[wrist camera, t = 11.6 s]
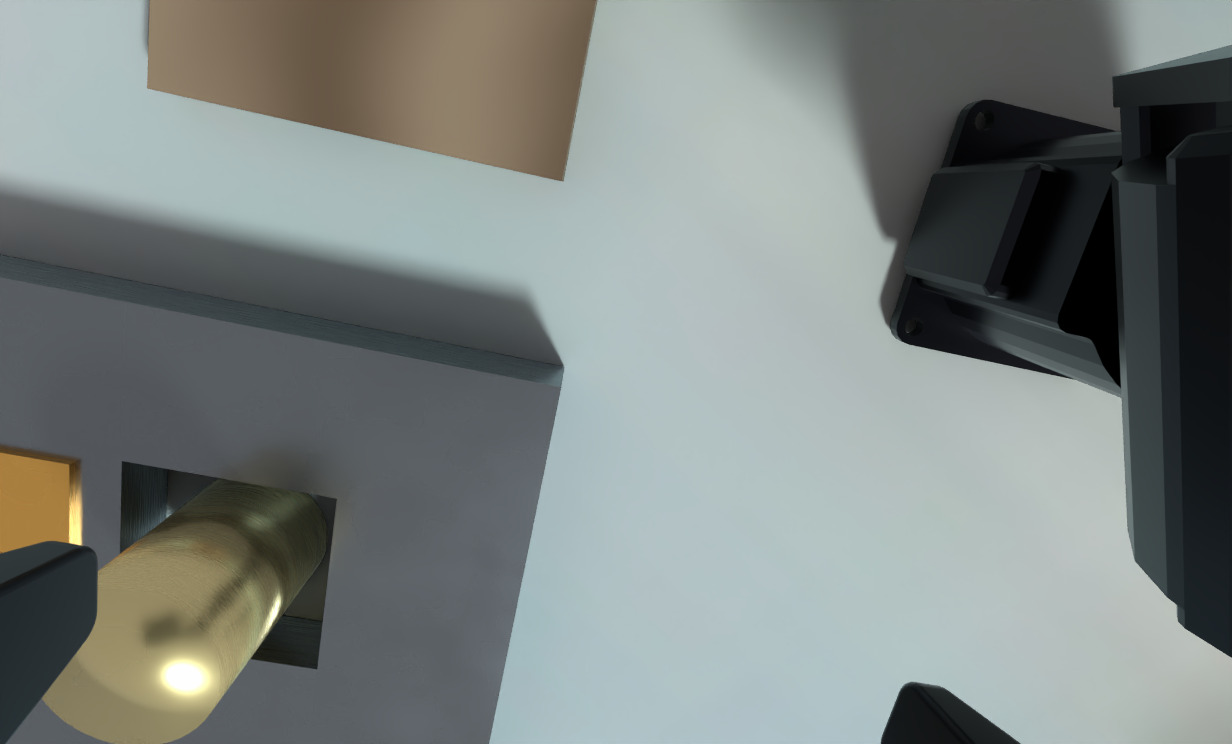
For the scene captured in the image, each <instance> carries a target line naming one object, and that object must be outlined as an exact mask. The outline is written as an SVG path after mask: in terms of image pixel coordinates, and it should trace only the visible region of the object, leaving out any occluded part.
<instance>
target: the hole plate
mask: <svg viewBox="0 0 1232 744" xmlns="http://www.w3.org/2000/svg"><path fill="white" fill-rule="evenodd" d="M563 372H564V367H562V366H557V365H552V364H547V363H542V362H537V361H532V360H527V359H522V358H517V357H512V356H507V355H502V354H497V353H492V352H487V351H482V350H477V349H472V348H467V347H462V346H457V345H452V344H447V343H442V342H436V341H431V340H426V339H421V338H416V337H411V336H406V335H401V334H396V333H391V332H386V331H381V330H376V329H371V328H366V327H361V326H356V325H351V324H346V323H341V322H336V321H331V320H326V319H321V318H316V317H311V316H306V315H301V314H296V313H291V312H286V311H281V310H276V309H271V308H266V307H261V306H256V305H250V304H245V303H240V302H235V301H230V300H225V299H220V298H215V297H210V296H205V295H200V294H195V293H190V292H185V291H180V290H175V289H170V288H165V287H160V286H155V285H150V284H145V283H140V282H135V281H130V280H125V279H120V278H115V277H110V276H105V275H100V274H95V273H90V272H85V271H80V270H75V269H70V268H65V267H59V266H54V265H49V264H44V263H39V262H34V261H29V260H24V259H19V258H14V257H9V256H4V255H0V553H4V552H8V551H11V550H15V549H19V548H22V547H26V546H30V545H33V544H37V543H41V542H45V541H59V542H65V543H71V544H77V545H83V546H88V547H90V548H91V549H93V550H94V551H95V553H96V555H97V559H98V571H99V570H100V569H101V568H103V567H104V566H105V565H106V564H108V563H109V562H110V561H112V560H113V559H114V558H116V557H117V556H118V555H119V554H121V553H122V552H123V551H125V550H126V549H127V548H129V547H130V546H131V545H132V544H134V543H135V542H136V541H138V540H139V539H140V538H142V537H143V536H144V535H145V534H147V533H148V532H149V531H151V530H152V529H153V528H155V527H156V526H157V525H158V524H160V523H161V522H162V521H164V520H165V519H166V507H167V483H168V469H171V470H176V471H182V472H188V473H193V474H199V475H205V476H210V477H216V478H222V479H228V480H233V481H239V482H245V483H250V484H256V485H262V486H267V487H273V488H279V489H284V490H290V491H296V492H302V493H307V494H313V495H319V496H324V497H330V498H336V499H337V502H336V511H335V520H334V528H333V537H332V546H331V554H330V563H329V572H328V581H327V589H326V598H325V607H324V615H323V622H320V621H314V620H307V619H301V618H295V617H288V616H281V618H280V619H279V620H278V622H277V623H276V624H275V626H274V627H273V628H272V630H271V631H270V633H269V634H268V635H267V637H266V638H265V639H264V641H263V642H262V644H261V645H260V646H259V648H258V649H257V650H256V652H255V653H254V654H253V656H252V657H251V659H250V660H249V661H248V663H247V664H246V665H245V667H244V668H243V669H242V671H241V672H240V674H239V675H238V676H237V678H236V679H235V680H234V682H233V683H232V684H231V686H230V687H229V689H228V690H227V691H226V693H225V694H224V695H223V697H222V698H221V699H220V701H219V702H218V704H217V705H216V706H215V708H214V709H213V710H212V712H211V713H210V714H209V716H208V717H207V718H206V720H205V721H204V722H203V723H202V724H201V725H200V726H199V727H198V728H196V729H195V730H193V731H192V732H190V733H189V734H187V735H185V736H183V737H181V738H179V739H176V740H174V741H171V742H168V743H163V744H489V740H490V735H491V730H492V726H493V721H494V716H495V711H496V706H497V701H498V696H499V691H500V686H501V681H502V676H503V671H504V666H505V661H506V656H507V652H508V647H509V642H510V637H511V632H512V627H513V622H514V617H515V612H516V607H517V602H518V597H519V592H520V587H521V582H522V578H523V573H524V568H525V563H526V558H527V553H528V548H529V543H530V538H531V533H532V528H533V523H534V518H535V513H536V508H537V504H538V499H539V494H540V489H541V484H542V479H543V474H544V469H545V464H546V459H547V454H548V449H549V444H550V439H551V434H552V429H553V425H554V420H555V415H556V410H557V405H558V400H559V395H560V390H561V385H562V378H563ZM7 744H114V743H109V742H106V741H103V740H99V739H96V738H94V737H92V736H89V735H87V734H85V733H83V732H81V731H79V730H77V729H75V728H74V727H72V726H71V725H69V724H68V723H66V722H65V721H63V720H62V719H61V718H60V717H59V716H57V715H56V714H55V713H54V712H53V711H52V710H51V709H50V708H49V707H48V706H47V705H46V703H45V702H44V701H43V699H42V698H41V700H40V701H39V702H38V704H37V705H36V706H35V708H34V709H33V710H32V711H31V713H30V714H29V715H28V717H27V718H26V719H25V721H24V722H23V723H22V724H21V726H20V727H19V728H18V730H17V731H16V732H15V734H14V735H13V736H12V737H11V739H10V740H9V741H8V743H7Z"/></svg>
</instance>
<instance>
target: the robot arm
mask: <svg viewBox="0 0 1232 744" xmlns="http://www.w3.org/2000/svg"><path fill="white" fill-rule="evenodd" d="M1112 83H1113V106H1114V107H1120V117H1121V131H1114V130H1110V129H1106V128H1102V127H1098V126H1094V125H1090V124H1086V123H1082V122H1078V121H1074V120H1070V119H1066V118H1062V117H1058V116H1054V115H1050V114H1046V113H1042V112H1038V111H1034V110H1030V109H1026V108H1022V107H1018V106H1014V105H1010V104H1006V103H1002V102H998V101H994V100H981V101H977V102H973V103H971V104H969V105H967V106H966V107H965V108H964V109H963V110H962V111H961V113H960V115H959V117H958V119H957V122H956V125H955V128H954V131H953V134H952V137H951V140H950V143H949V146H948V149H947V152H946V155H945V159H944V162H943V165H942V168H941V170H939V171H938V172H936V173H935V174H933V175H932V177H931V180H930V183H929V186H928V189H927V192H926V196H925V199H924V202H923V205H922V208H921V211H920V214H919V217H918V220H917V223H916V226H915V229H914V232H913V235H912V238H911V241H910V244H909V247H908V250H907V254H906V257H905V260H904V263H903V264H904V267H905V270H906V272H907V274H906V277H905V280H904V283H903V286H902V289H901V292H900V295H899V298H898V301H897V304H896V307H895V310H894V313H893V316H892V319H891V324H890V329H891V332H892V334H893V336H894V337H895V338H896V339H898V340H900V341H902V342H904V343H907V344H909V345H914V346H919V347H924V348H928V349H933V350H938V351H942V352H947V353H952V354H957V355H961V356H966V357H971V358H975V359H980V360H985V361H990V362H994V363H999V364H1004V365H1008V366H1013V367H1018V368H1023V369H1027V370H1032V371H1037V372H1042V373H1046V374H1051V375H1056V376H1060V377H1065V378H1070V379H1075V380H1078V381H1080V382H1083V383H1085V384H1088V385H1090V386H1093V387H1095V388H1098V389H1101V390H1103V391H1106V392H1108V393H1111V394H1113V395H1116V396H1118V397H1121V398H1122V418H1123V440H1124V461H1125V483H1126V505H1127V526H1128V533H1129V537H1130V542H1131V546H1132V550H1133V555H1134V559H1135V562H1136V563H1137V564H1138V565H1139V566H1140V567H1141V568H1142V569H1143V571H1144V572H1145V573H1146V574H1147V575H1148V576H1149V577H1150V578H1151V580H1152V581H1153V582H1154V583H1155V584H1156V585H1157V586H1158V587H1159V589H1160V590H1161V591H1162V592H1163V593H1164V594H1165V595H1166V596H1167V598H1169V599H1170V600H1171V601H1173V602H1174V603H1175V604H1177V618H1178V622H1179V623H1180V624H1181V625H1182V626H1183V627H1184V628H1185V629H1187V630H1188V631H1190V632H1191V633H1193V634H1195V635H1196V636H1198V637H1199V638H1201V639H1203V640H1204V641H1206V642H1207V643H1209V644H1211V645H1212V646H1214V647H1215V648H1217V649H1219V650H1220V651H1222V652H1223V653H1225V654H1227V655H1228V656H1230V657H1232V45H1229V46H1226V47H1222V48H1218V49H1214V50H1211V51H1207V52H1203V53H1199V54H1196V55H1192V56H1188V57H1184V58H1180V59H1177V60H1173V61H1169V62H1165V63H1162V64H1158V65H1154V66H1150V67H1147V68H1143V69H1139V70H1135V71H1131V72H1128V73H1124V74H1120V75H1117V76H1113V77H1112ZM979 112H981V113H982V114H984V116H985V125H984V127H983V128H982V129H981V130H978V129H977V128H976V126H975V118H976V116H977V114H978V113H979ZM912 318H915V319H916V321H917V322H916V327H915V329H914V330H913V331H911V332H910V333H906V331H905V325H906V323H907V322H908V321H909V320H910V319H912ZM97 596H98V559H97V555H96V553H95V551H94V550H93V549H91V548H90V547H88V546H83V545H77V544H71V543H65V542H59V541H45V542H41V543H37V544H33V545H30V546H26V547H22V548H19V549H15V550H11V551H8V552H4V553H0V744H7V743H8V741H9V740H10V739H11V737H12V736H13V735H14V734H15V732H16V731H17V730H18V728H19V727H20V726H21V724H22V723H23V722H24V721H25V719H26V718H27V717H28V715H29V714H30V713H31V711H32V710H33V709H34V708H35V706H36V705H37V704H38V702H39V701H40V700H41V698H42V697H43V696H44V695H45V693H46V692H47V691H48V689H49V688H50V687H51V685H52V684H53V683H54V682H55V680H56V679H57V678H58V676H59V675H60V674H61V672H62V671H63V670H64V669H65V667H66V666H67V665H68V663H69V662H70V661H71V659H72V658H73V657H74V656H75V654H76V653H77V652H78V650H79V649H80V648H81V647H82V645H83V644H84V643H85V641H86V640H87V638H88V637H89V635H90V633H91V631H92V629H93V627H94V624H95V621H96V617H97ZM881 744H1021V743H1019V742H1018V741H1016V740H1015V739H1014V738H1012V737H1011V736H1010V735H1008V734H1007V733H1006V732H1004V731H1003V730H1001V729H1000V728H999V727H997V726H996V725H995V724H993V723H992V722H990V721H989V720H988V719H986V718H985V717H984V716H982V715H981V714H980V713H978V712H977V711H975V710H974V709H973V708H971V707H970V706H969V705H967V704H966V703H964V702H963V701H962V700H960V699H959V698H958V697H956V696H955V695H954V694H952V693H951V692H949V691H948V690H946V689H945V688H943V687H940V686H936V685H930V684H924V683H917V682H909V683H906V684H905V685H904V686H903V687H902V688H901V690H900V692H899V694H898V697H897V699H896V702H895V704H894V707H893V709H892V712H891V714H890V717H889V720H888V722H887V725H886V727H885V730H884V732H883V735H882V739H881Z"/></svg>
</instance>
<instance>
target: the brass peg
mask: <svg viewBox="0 0 1232 744" xmlns="http://www.w3.org/2000/svg"><path fill="white" fill-rule="evenodd" d="M327 540H328V534H327V526H326V523H325V519H324V517H323V514H322V512H321V510H320V508H319V507H318V505H317V504H316V502H315V501H314V500H313V498H312V497H311V496H310V495H309V494H307V493H302V492H296V491H290V490H284V489H279V488H273V487H267V486H262V485H256V484H250V483H245V482H239V481H233V480H228V479H222V478H219V479H218V480H216V481H214V482H213V483H212V484H210V485H209V486H208V487H206V488H205V489H204V490H203V491H201V492H200V493H199V494H197V495H196V496H195V497H193V498H192V499H191V500H190V501H188V502H187V503H186V504H184V505H183V506H182V507H181V508H179V509H178V510H177V511H175V512H174V513H173V514H171V515H170V516H169V517H168V518H166V519H165V520H164V521H162V522H161V523H160V524H158V525H157V526H156V527H155V528H153V529H152V530H151V531H149V532H148V533H147V534H145V535H144V536H143V537H142V538H140V539H139V540H138V541H136V542H135V543H134V544H132V545H131V546H130V547H129V548H127V549H126V550H125V551H123V552H122V553H121V554H119V555H118V556H117V557H116V558H114V559H113V560H112V561H110V562H109V563H108V564H106V565H105V566H104V567H103V568H101V569H100V570H99V571H98V596H97V617H96V621H95V624H94V627H93V629H92V631H91V633H90V635H89V637H88V638H87V640H86V641H85V643H84V644H83V645H82V647H81V648H80V649H79V650H78V652H77V653H76V654H75V656H74V657H73V658H72V659H71V661H70V662H69V663H68V665H67V666H66V667H65V669H64V670H63V671H62V672H61V674H60V675H59V676H58V678H57V679H56V680H55V682H54V683H53V684H52V685H51V687H50V688H49V689H48V691H47V692H46V693H45V695H44V696H43V697H42V699H43V701H44V702H45V703H46V705H47V706H48V707H49V708H50V709H51V710H52V711H53V712H54V713H55V714H56V715H57V716H59V717H60V718H61V719H62V720H63V721H65V722H66V723H68V724H69V725H71V726H72V727H74V728H75V729H77V730H79V731H81V732H83V733H85V734H87V735H89V736H92V737H94V738H96V739H99V740H103V741H106V742H109V743H114V744H163V743H168V742H171V741H174V740H176V739H179V738H181V737H183V736H185V735H187V734H189V733H190V732H192V731H193V730H195V729H196V728H198V727H199V726H200V725H201V724H202V723H203V722H204V721H205V720H206V718H207V717H208V716H209V714H210V713H211V712H212V710H213V709H214V708H215V706H216V705H217V704H218V702H219V701H220V699H221V698H222V697H223V695H224V694H225V693H226V691H227V690H228V689H229V687H230V686H231V684H232V683H233V682H234V680H235V679H236V678H237V676H238V675H239V674H240V672H241V671H242V669H243V668H244V667H245V665H246V664H247V663H248V661H249V660H250V659H251V657H252V656H253V654H254V653H255V652H256V650H257V649H258V648H259V646H260V645H261V644H262V642H263V641H264V639H265V638H266V637H267V635H268V634H269V633H270V631H271V630H272V628H273V627H274V626H275V624H276V623H277V622H278V620H279V619H280V618H281V616H282V615H283V613H284V612H285V611H286V609H287V608H288V607H289V605H290V604H291V603H292V601H293V600H294V598H295V597H296V596H297V594H298V593H299V592H300V590H301V589H302V588H303V586H304V585H305V583H306V582H307V581H308V579H309V578H310V577H311V575H312V574H313V573H314V571H315V570H316V568H317V567H318V566H319V564H320V563H321V561H322V559H323V557H324V554H325V552H326V547H327Z"/></svg>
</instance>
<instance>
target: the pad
mask: <svg viewBox="0 0 1232 744" xmlns="http://www.w3.org/2000/svg"><path fill="white" fill-rule="evenodd" d="M596 5H597V0H150V8H149V45H148V81H147V88H148V89H152V90H157V91H161V92H166V93H170V94H175V95H179V96H184V97H188V98H193V99H197V100H202V101H206V102H210V103H215V104H219V105H224V106H228V107H233V108H237V109H242V110H246V111H251V112H255V113H260V114H264V115H268V116H273V117H277V118H282V119H286V120H291V121H295V122H300V123H304V124H309V125H313V126H318V127H322V128H327V129H331V130H335V131H340V132H344V133H349V134H353V135H358V136H362V137H367V138H371V139H376V140H380V141H385V142H389V143H393V144H398V145H402V146H407V147H411V148H416V149H420V150H425V151H429V152H434V153H438V154H443V155H447V156H452V157H456V158H460V159H465V160H469V161H474V162H478V163H483V164H487V165H492V166H496V167H501V168H505V169H510V170H514V171H518V172H523V173H527V174H532V175H536V176H541V177H545V178H550V179H554V180H559V181H564V175H565V170H566V165H567V159H568V154H569V149H570V143H571V138H572V133H573V127H574V122H575V117H576V111H577V106H578V101H579V95H580V90H581V85H582V79H583V74H584V69H585V63H586V58H587V53H588V47H589V42H590V37H591V31H592V26H593V21H594V15H595V10H596Z"/></svg>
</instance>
